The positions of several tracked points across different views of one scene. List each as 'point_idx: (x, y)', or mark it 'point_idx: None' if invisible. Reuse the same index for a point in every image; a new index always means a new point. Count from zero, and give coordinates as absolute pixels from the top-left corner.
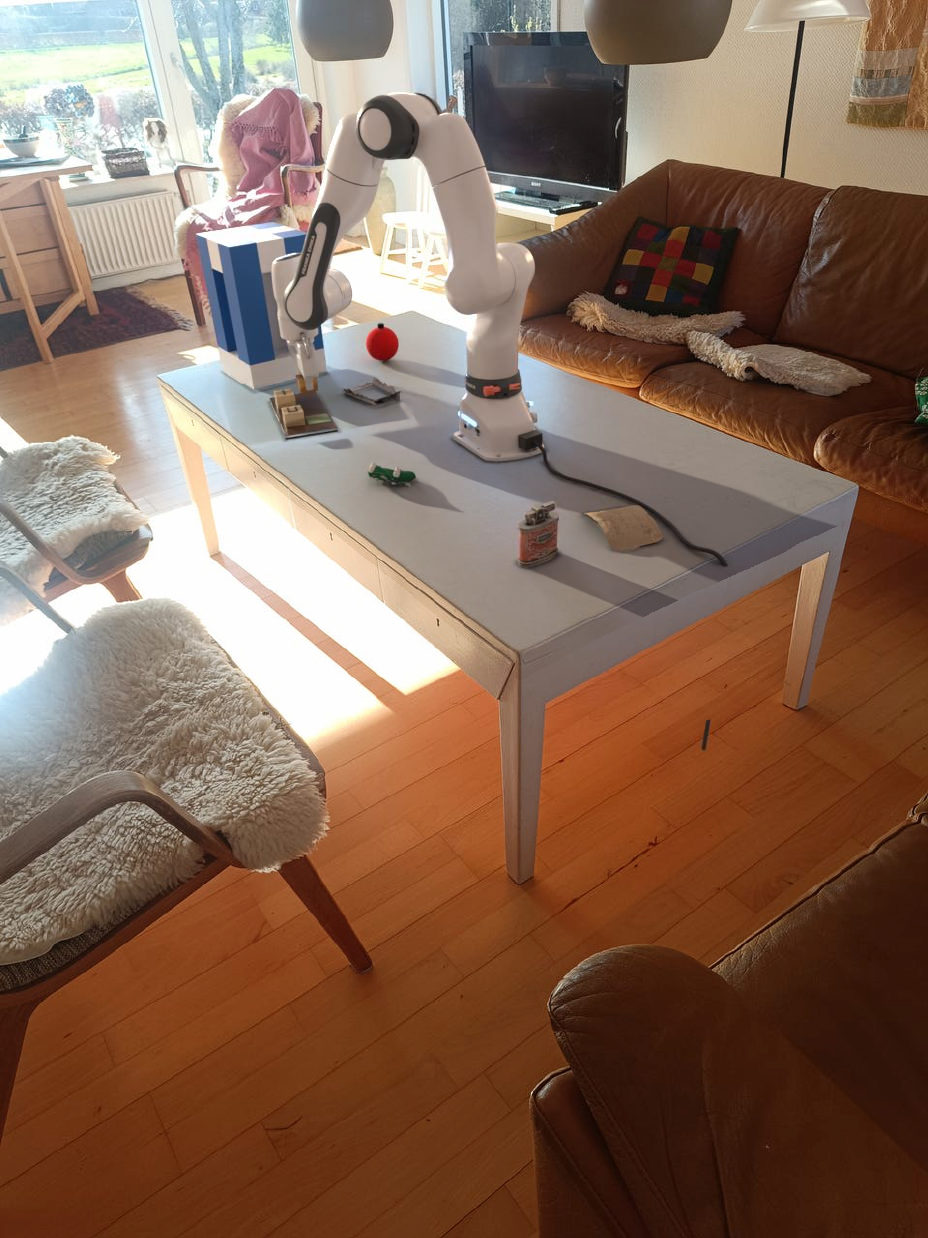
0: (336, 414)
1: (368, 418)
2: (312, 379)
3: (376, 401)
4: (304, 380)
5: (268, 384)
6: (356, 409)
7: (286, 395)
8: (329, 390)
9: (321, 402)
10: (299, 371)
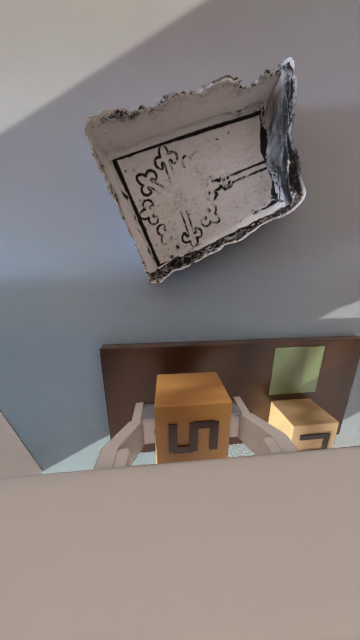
0: (260, 320)
1: (325, 251)
2: (268, 425)
3: (287, 196)
4: (250, 447)
5: (13, 455)
6: (254, 265)
7: None
8: (79, 306)
9: (196, 348)
10: (134, 458)
